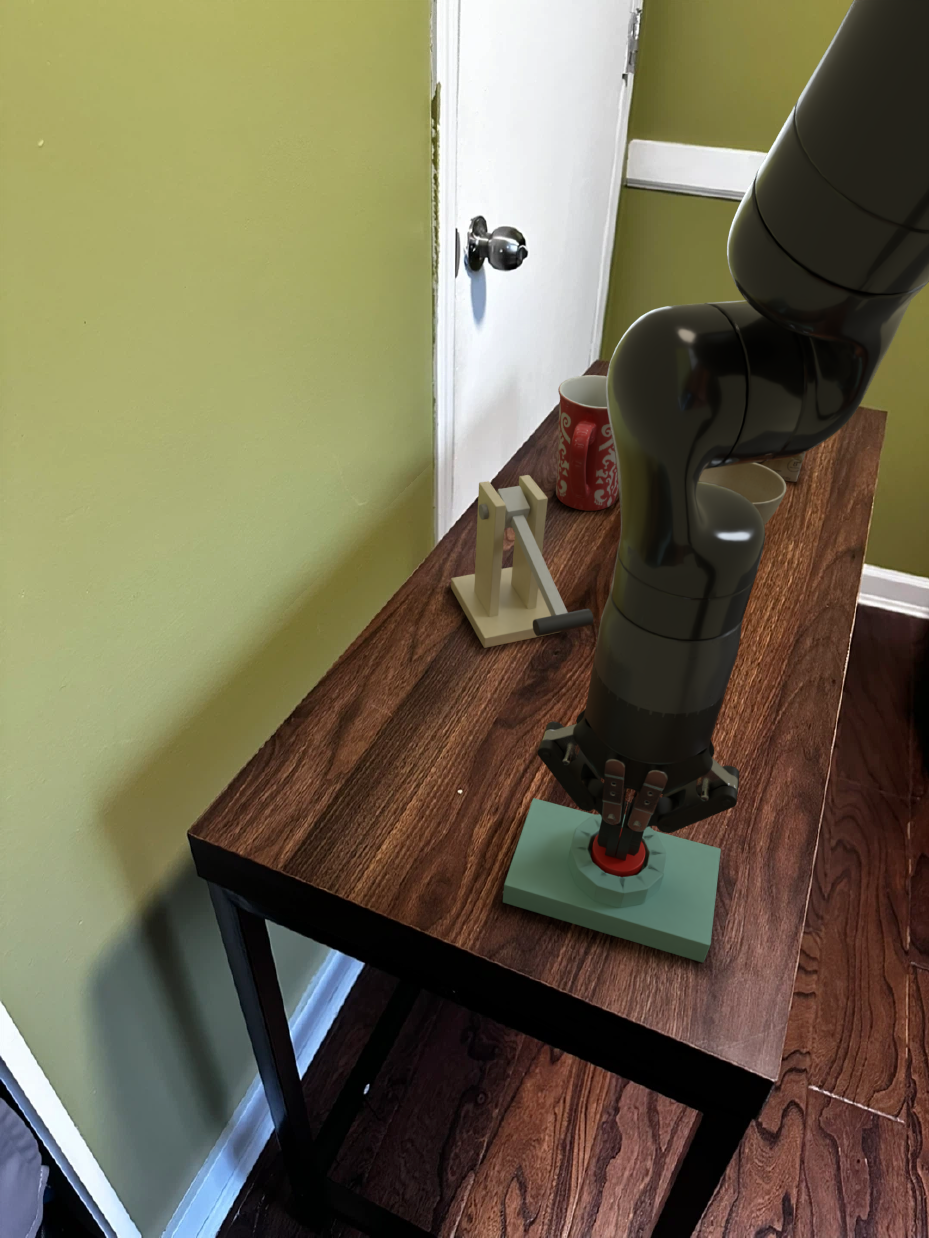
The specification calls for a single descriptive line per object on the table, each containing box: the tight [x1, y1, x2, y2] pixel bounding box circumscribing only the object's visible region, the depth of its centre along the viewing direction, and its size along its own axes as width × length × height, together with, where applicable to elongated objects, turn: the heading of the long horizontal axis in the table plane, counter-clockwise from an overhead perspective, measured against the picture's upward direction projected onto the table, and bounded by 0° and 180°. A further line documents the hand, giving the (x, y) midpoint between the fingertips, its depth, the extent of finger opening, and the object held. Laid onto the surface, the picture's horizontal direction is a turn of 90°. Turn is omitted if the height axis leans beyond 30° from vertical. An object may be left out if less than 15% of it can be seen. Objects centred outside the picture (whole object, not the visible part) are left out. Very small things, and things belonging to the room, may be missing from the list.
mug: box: [555, 374, 619, 512], centre depth 98 cm, size 13×9×14 cm
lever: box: [496, 485, 594, 637], centre depth 75 cm, size 15×5×2 cm, turn 19°
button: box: [591, 829, 645, 877], centre depth 60 cm, size 4×4×2 cm
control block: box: [502, 797, 722, 963], centre depth 60 cm, size 14×8×4 cm, turn 72°
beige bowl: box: [699, 463, 787, 526], centre depth 96 cm, size 10×10×7 cm
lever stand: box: [450, 474, 560, 649], centre depth 82 cm, size 10×8×14 cm
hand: (617, 847), depth 59 cm, fingers closed
